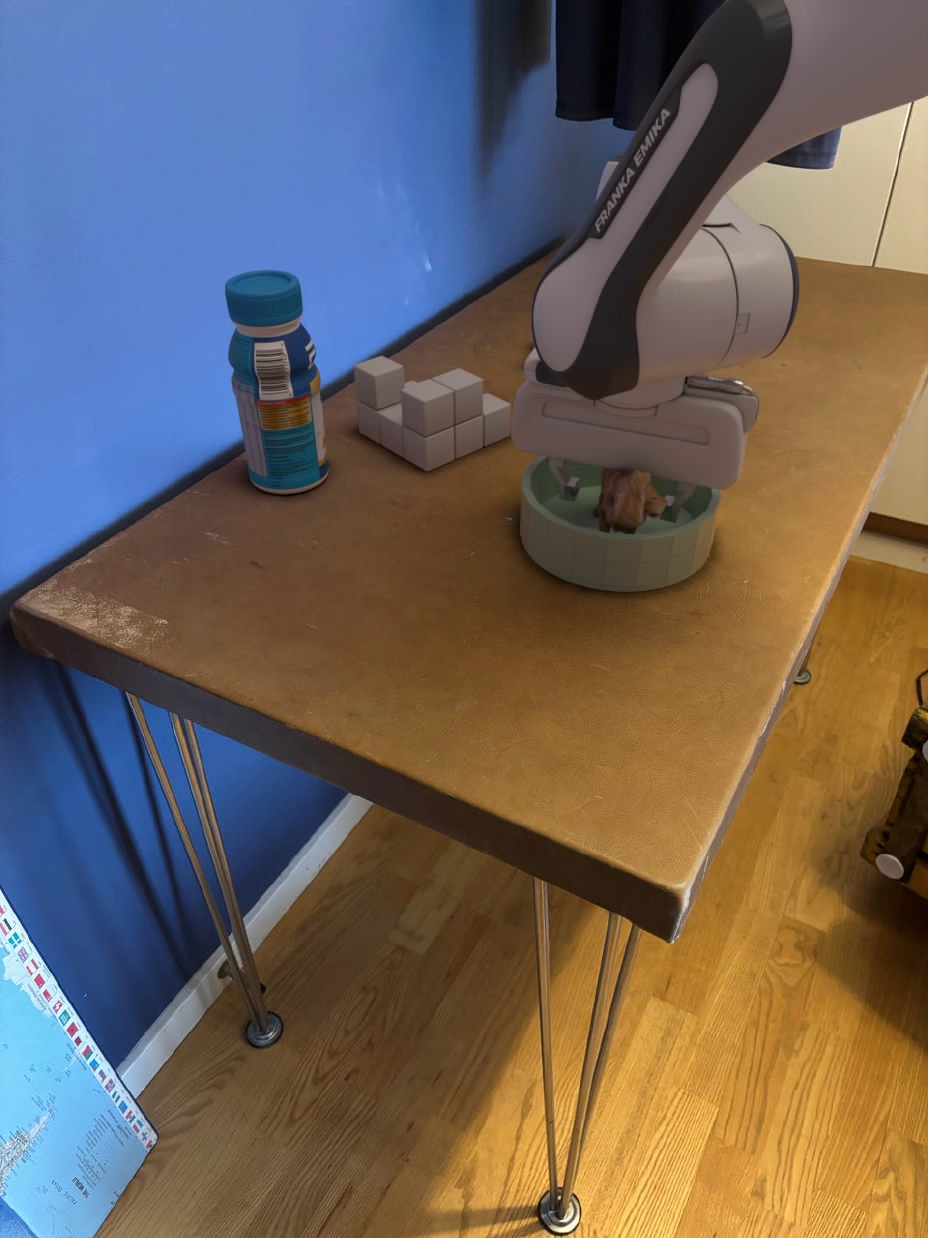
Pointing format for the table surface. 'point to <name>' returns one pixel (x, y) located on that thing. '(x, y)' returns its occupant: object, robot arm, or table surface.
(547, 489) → the bowl
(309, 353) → the beverage bottle
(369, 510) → the table surface
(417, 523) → the table surface
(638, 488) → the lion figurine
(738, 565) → the table surface
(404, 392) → the puzzle cube
